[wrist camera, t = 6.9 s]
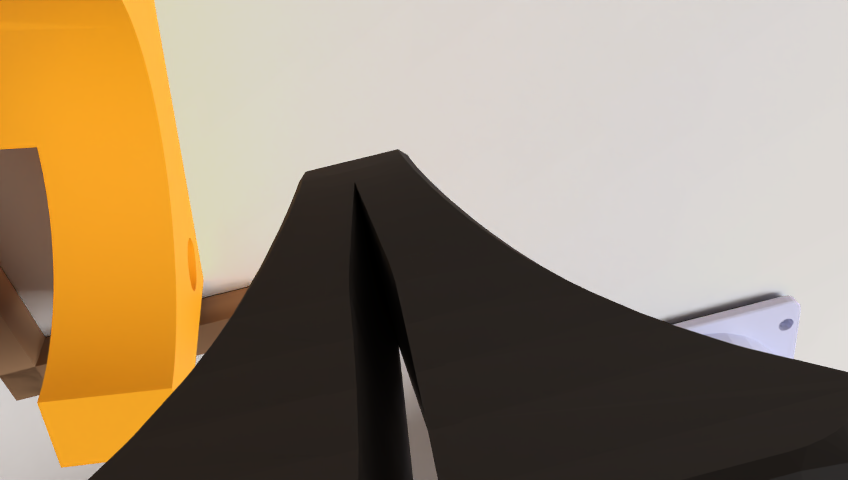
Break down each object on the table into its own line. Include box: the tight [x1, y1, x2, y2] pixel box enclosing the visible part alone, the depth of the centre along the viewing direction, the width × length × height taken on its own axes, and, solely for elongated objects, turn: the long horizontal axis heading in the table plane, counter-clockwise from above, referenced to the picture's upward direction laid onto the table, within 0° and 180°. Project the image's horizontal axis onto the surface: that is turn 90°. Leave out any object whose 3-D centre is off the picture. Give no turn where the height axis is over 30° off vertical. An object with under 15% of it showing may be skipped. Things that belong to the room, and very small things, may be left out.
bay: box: [0, 267, 249, 400], centre depth 17 cm, size 17×8×1 cm, turn 10°
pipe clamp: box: [0, 0, 203, 467], centre depth 16 cm, size 12×4×6 cm, turn 179°
